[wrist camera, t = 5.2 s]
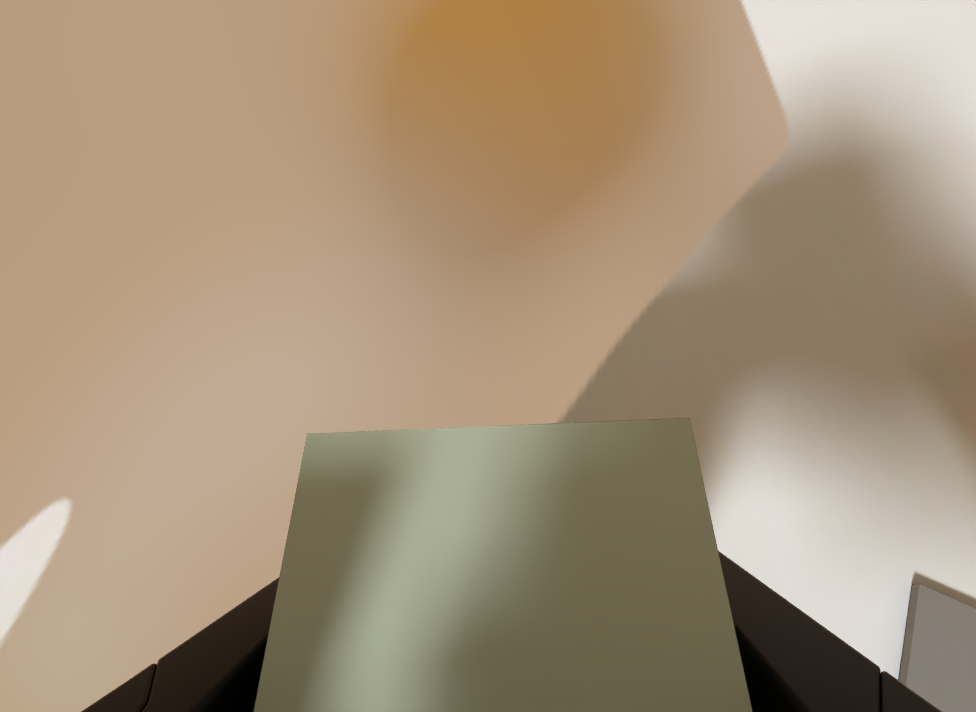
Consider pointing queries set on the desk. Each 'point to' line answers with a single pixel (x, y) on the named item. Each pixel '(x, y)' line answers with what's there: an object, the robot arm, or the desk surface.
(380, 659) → the sage block
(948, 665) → the slate mat
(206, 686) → the robot arm
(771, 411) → the desk surface
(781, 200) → the desk surface
